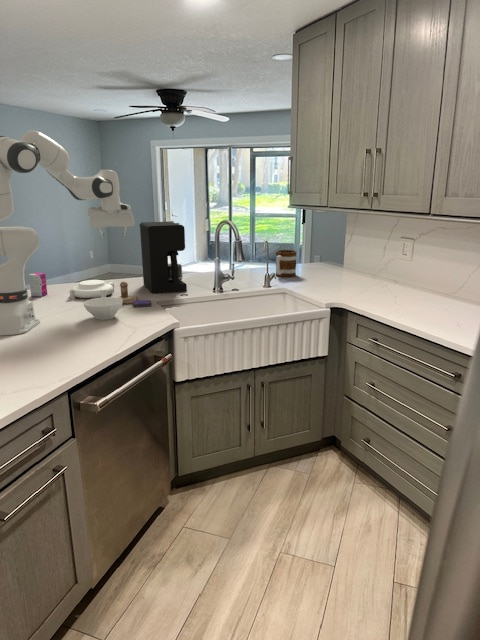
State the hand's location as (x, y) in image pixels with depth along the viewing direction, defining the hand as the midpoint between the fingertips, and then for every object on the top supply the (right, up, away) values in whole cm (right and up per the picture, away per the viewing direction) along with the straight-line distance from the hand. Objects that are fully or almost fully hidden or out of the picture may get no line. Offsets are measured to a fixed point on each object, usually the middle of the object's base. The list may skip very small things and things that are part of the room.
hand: (113, 236), depth 215 cm
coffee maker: (+19, -22, +34) cm, 45 cm away
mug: (+86, -12, +67) cm, 110 cm away
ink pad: (+13, -32, +1) cm, 34 cm away
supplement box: (-43, -27, +19) cm, 54 cm away
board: (+4, -30, +7) cm, 31 cm away
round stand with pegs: (-16, -27, +21) cm, 37 cm away
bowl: (+1, -38, -19) cm, 42 cm away
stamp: (+4, -29, +7) cm, 30 cm away
